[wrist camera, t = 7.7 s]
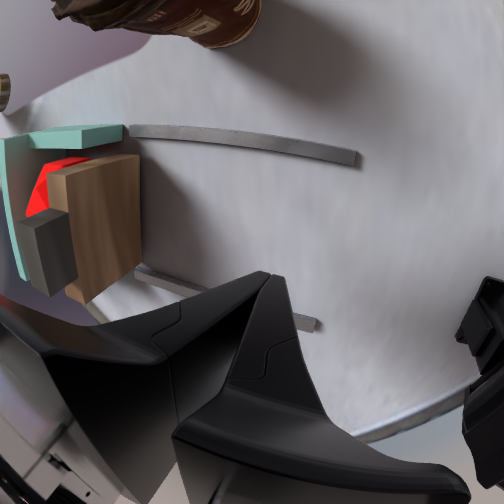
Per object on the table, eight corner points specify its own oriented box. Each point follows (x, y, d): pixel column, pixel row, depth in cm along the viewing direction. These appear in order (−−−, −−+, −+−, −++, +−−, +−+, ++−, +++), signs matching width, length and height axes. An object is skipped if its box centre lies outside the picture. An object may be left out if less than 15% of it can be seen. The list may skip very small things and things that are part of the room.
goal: (122, 124, 23) (51, 135, 16) (128, 271, 30) (76, 310, 23) (57, 127, 26) (-2, 140, 19) (68, 248, 32) (20, 277, 25)
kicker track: (356, 150, 18) (356, 151, 18) (314, 327, 25) (312, 333, 24) (135, 124, 23) (129, 125, 22) (139, 275, 29) (134, 278, 29)
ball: (66, 188, 29) (12, 209, 22) (96, 138, 25) (33, 153, 18) (102, 244, 30) (50, 275, 23) (138, 201, 26) (78, 230, 19)
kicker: (139, 154, 23) (28, 188, 13) (142, 261, 27) (59, 325, 18) (119, 153, 23) (12, 185, 14) (124, 255, 28) (41, 313, 18)
